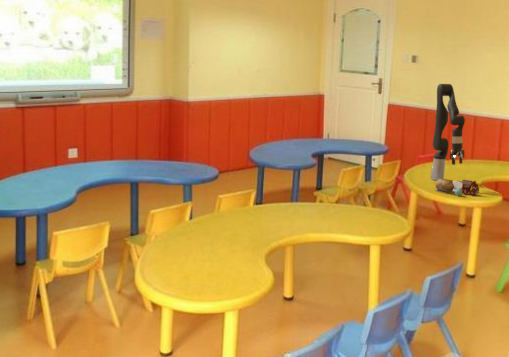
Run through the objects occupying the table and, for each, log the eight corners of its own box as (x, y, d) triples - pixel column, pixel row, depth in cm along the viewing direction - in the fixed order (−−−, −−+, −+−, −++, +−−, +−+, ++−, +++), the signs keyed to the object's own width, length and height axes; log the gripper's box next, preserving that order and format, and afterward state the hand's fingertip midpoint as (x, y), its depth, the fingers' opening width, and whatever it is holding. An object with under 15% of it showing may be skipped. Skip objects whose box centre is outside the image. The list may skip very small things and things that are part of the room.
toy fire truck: (477, 196, 468) (478, 182, 466) (459, 194, 474) (461, 180, 472) (479, 194, 474) (480, 180, 472) (461, 192, 480) (463, 178, 478)
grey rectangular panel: (435, 190, 481) (435, 190, 481) (453, 187, 493) (453, 187, 493) (445, 193, 473) (446, 193, 473) (464, 190, 485) (464, 190, 485)
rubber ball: (453, 195, 469) (453, 188, 468) (457, 194, 472) (458, 187, 471) (458, 196, 465) (459, 190, 464) (463, 196, 468) (463, 189, 467)
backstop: (446, 187, 489) (447, 181, 488) (452, 186, 493) (453, 180, 492) (459, 191, 481) (459, 184, 479) (465, 190, 484) (465, 183, 483)
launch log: (435, 190, 481) (436, 179, 479) (442, 189, 486) (443, 178, 484) (446, 193, 473) (447, 182, 471) (453, 192, 478) (454, 181, 476)
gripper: (459, 141, 493) (458, 163, 495) (447, 142, 485) (446, 164, 487) (467, 142, 487) (467, 163, 489) (455, 143, 479) (455, 165, 481)
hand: (457, 164), depth 488 cm, fingers open, 8 cm apart
